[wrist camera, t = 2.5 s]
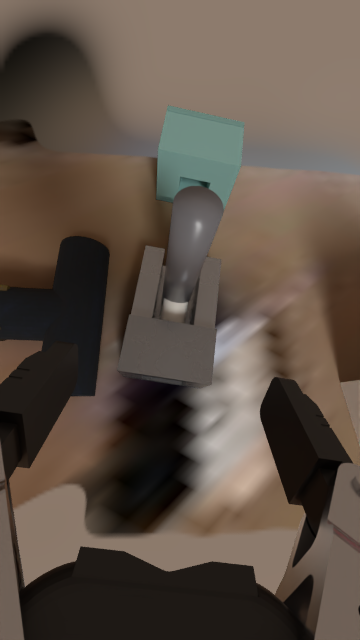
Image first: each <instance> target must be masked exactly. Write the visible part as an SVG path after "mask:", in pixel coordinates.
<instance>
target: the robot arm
mask: <svg viewBox="0 0 360 640" xmlns="http://www.w3.org/2000/svg"><path fill="white" fill-rule="evenodd" d="M77 379H78V345H77V344H74V343H68V342H62V341H55V342H54V343H53V344H52V346H51V347H50V348H49V349H48V350H47V351H46V352H41V351H39V352H37V353H35V354H33V355H31V356H29V357H27V358H26V359H25V360H24V361H23V362H22V363H21V364H20V365H19V366H18V367H17V369H16V370H14V371H13V372H12V373H11V374H10V375H9V378H6V379H5V380H4V381H3V382H2V383H1V384H0V640H360V466H358V465H356V464H353V462H352V461H351V459H350V457H349V456H348V454H347V453H346V451H345V449H344V448H343V446H342V445H341V443H340V441H339V440H338V438H337V436H336V435H335V433H334V432H333V430H332V428H330V427H329V426H330V425H329V424H328V422H327V420H326V419H325V418H324V416H323V414H322V412H321V411H320V409H319V408H318V406H317V405H316V404H315V403H314V402H313V401H312V400H311V399H310V398H309V397H308V396H307V395H306V394H303V393H302V391H301V389H300V388H299V386H298V384H297V383H296V381H294V380H291V379H285V378H278V377H275V378H273V379H272V381H271V383H270V386H269V388H268V390H267V393H266V395H265V397H264V399H263V402H262V404H261V408H260V418H261V422H262V425H263V428H264V431H265V434H266V437H267V440H268V443H269V446H270V449H271V452H272V455H273V458H274V461H275V464H276V467H277V470H278V473H279V476H280V479H281V482H282V485H283V488H284V491H285V494H286V497H287V500H288V503H289V504H294V505H302V506H303V508H304V510H305V514H304V515H303V517H302V519H301V522H300V526H299V529H298V532H297V536H296V539H295V542H294V546H293V549H292V552H291V556H290V559H289V562H288V566H287V569H286V572H285V574H284V577H283V579H282V581H281V583H280V585H279V587H278V589H277V591H276V593H275V595H274V594H273V593H271V592H270V591H269V590H267V589H266V588H264V587H263V586H261V585H260V584H258V583H256V580H255V574H254V569H253V566H247V565H238V564H228V563H220V562H208V563H204V564H200V565H197V566H192V567H188V568H184V569H180V570H176V571H171V572H168V571H164V570H161V569H160V568H158V567H155V566H153V565H151V564H149V563H147V562H145V561H143V560H141V559H139V558H137V557H135V556H133V555H131V554H128V553H126V552H124V551H115V550H107V549H98V548H89V547H80V550H79V554H78V557H77V560H76V561H75V562H71V563H67V564H64V565H62V566H59V567H56V568H54V569H52V570H50V571H48V572H47V573H45V574H43V575H41V576H40V577H38V578H37V579H35V580H34V581H32V582H31V583H30V584H28V585H27V586H26V587H25V585H24V578H23V572H22V565H21V559H20V553H19V547H18V540H17V533H16V526H15V519H14V511H13V504H12V497H11V490H10V483H9V478H10V477H11V475H12V473H13V472H14V470H15V469H16V467H23V468H30V466H31V465H32V463H33V461H34V459H35V458H36V456H37V454H38V452H39V451H40V449H41V447H42V445H43V444H44V442H45V440H46V438H47V437H48V435H49V433H50V431H51V429H52V428H53V426H54V424H55V422H56V421H57V419H58V417H59V415H60V414H61V412H62V410H63V408H64V407H65V405H66V403H67V401H68V400H69V398H70V396H71V394H72V393H73V391H74V389H75V386H76V383H77Z"/></svg>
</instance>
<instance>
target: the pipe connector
mask: <svg viewBox="0 0 360 640" xmlns="http://www.w3.org/2000/svg"><path fill="white" fill-rule="evenodd" d="M109 256H110V254H109V250H108V249H107V247H105V246H104V245H103V244H102V243H100V242H98V241H96V240H94V239H91V238H87V237H81V236H73V237H68V238H65V239H64V240H63V241H62V242H61V244H60V250H59V255H58V261H57V266H56V272H55V278H54V283H53V289H35V288H18V287H9V286H8V285H0V341H5V340H7V339H10V340H39V341H43V346H42V351H41V352H46V351H47V350H48V349H49V348H50V347H51V346H52V344H53V343H54V342H55V341H62V342H68V343H74V344H77V345H78V379H77V383H76V386H75V389H74V391H73V393H72V394H71V396H95V389H96V380H97V370H98V361H99V351H100V341H101V332H102V322H103V313H104V303H105V294H106V284H107V275H108V265H109Z"/></svg>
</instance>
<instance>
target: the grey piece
mask: <svg viewBox="0 0 360 640" xmlns="http://www.w3.org/2000/svg"><path fill="white" fill-rule="evenodd" d="M223 211H224V207H223V203H222V201H221V199H220V198H219V196H218V195H217V194H216V193H215V192H213V191H212V190H210V189H208V188H205V187H202V186H189V187H186V188H183V189H181V190H180V191H179V192H178V193H177V194H176V195H175V197H174V200H173V208H172V216H171V225H170V233H169V242H168V250H167V259H166V268H165V276H164V285H163V293H162V302H163V304H162V310H161V315H160V320H166V321H172V322H178V323H184V324H185V320H186V313H187V306H188V303H189V301H190V298H191V295H192V293H193V290H194V288H195V285H196V282H197V280H198V277H199V275H200V272H201V270H202V267H203V264H204V262H205V259H206V257H207V254H208V251H209V249H210V246H211V244H212V241H213V239H214V236H215V233H216V231H217V228H218V226H219V223H220V221H221V218H222V215H223Z"/></svg>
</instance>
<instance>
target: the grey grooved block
mask: <svg viewBox="0 0 360 640" xmlns="http://www.w3.org/2000/svg"><path fill="white" fill-rule="evenodd" d="M164 253H165V249H163V248H157V247H152V246H147V245H146V247H145V251H144V256H143V260H142V265H141V270H140V274H139V279H138V284H137V288H136V293H135V298H134V302H133V307H132V311H131V314H129V318H128V322H127V327H126V332H125V336H124V341H123V345H122V350H121V355H120V359H119V364H118V368H117V371H118V372H119V373H120V374H121V375H122V376H123V377H129V378H136V379H142V380H149V381H155V382H162V383H168V384H175V385H181V386H188V387H194V388H203V387H206V386H210V385H211V384H212V374H213V363H214V353H215V343H216V332H217V329H215V319H216V309H217V299H218V288H219V278H220V268H221V259H216V258H211V257H206V259H205V262H204V264H203V267H202V270H201V272H200V275H199V277H198V280H197V282H196V285H195V288H194V290H193V293H192V295H191V298H190V301H189V303H188V306H187V313H186V320H185V324H184V323H178V322H172V321H166V320H160V315H161V310H162V304H163V302H162V293H163V285H164V276H165V268H166V266H163V264H164Z"/></svg>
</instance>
